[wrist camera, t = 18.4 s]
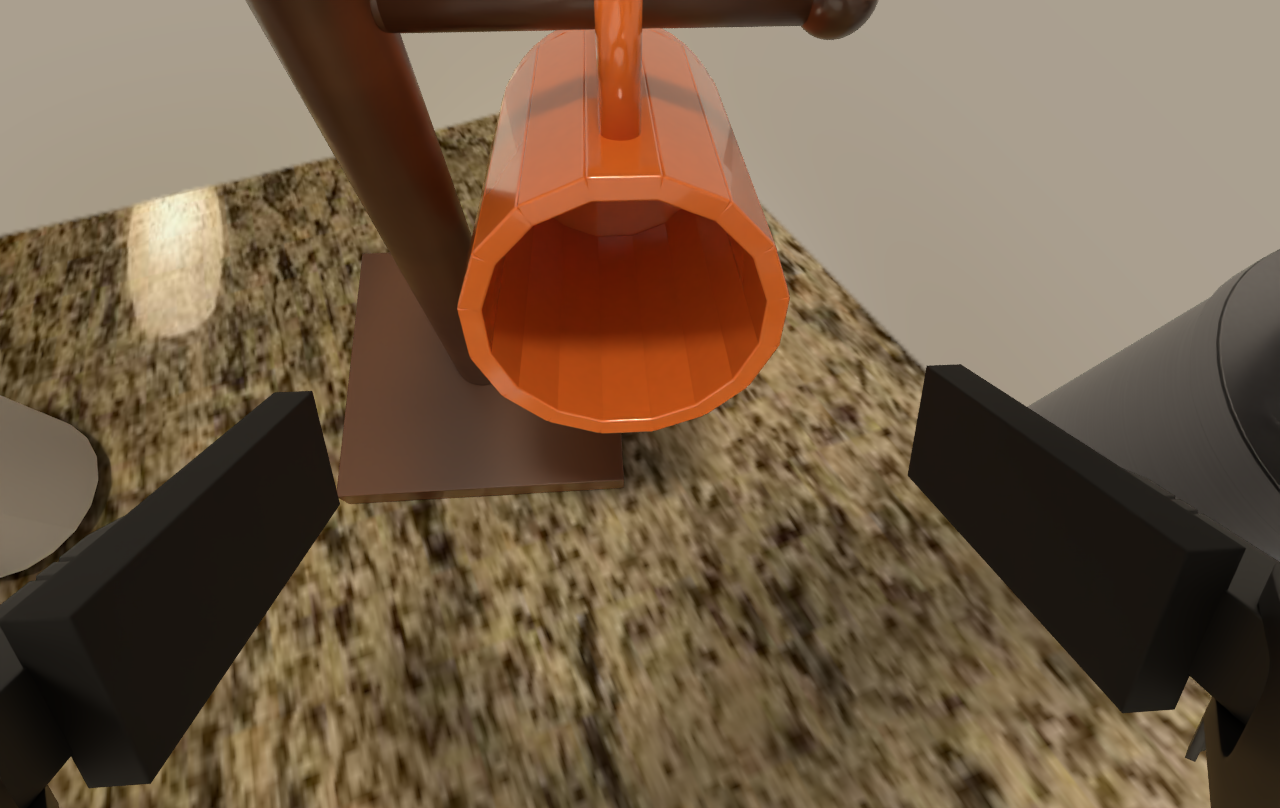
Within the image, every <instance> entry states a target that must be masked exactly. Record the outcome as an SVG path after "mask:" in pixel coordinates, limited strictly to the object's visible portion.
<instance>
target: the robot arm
mask: <svg viewBox="0 0 1280 808" xmlns="http://www.w3.org/2000/svg"><path fill="white" fill-rule="evenodd" d="M908 476H909V477H910V479H911V480H912V481H913V482H914V483H915V484H916V485H917V486H918V487H919V489H920V490H921V491H922V492H923V493H924V494H925V495H926V496H927V497H928V498H929V500H930V501H931V502H932V503H933V504H934V505H935V506H936V507H937V508H938V510H939V511H940V512H941V513H942V514H943V515H944V516H945V517H946V518H947V520H948V521H949V522H950V523H951V524H952V525H953V526H954V527H955V528H956V529H957V531H958V532H959V533H960V534H961V535H962V536H963V537H964V538H965V539H966V541H967V542H968V543H969V544H970V545H971V546H972V547H973V548H974V549H975V550H976V552H977V553H978V554H979V555H980V556H981V557H982V558H983V559H984V560H985V562H986V563H987V564H988V565H989V566H990V567H991V568H992V569H993V570H994V572H995V573H996V574H997V575H998V576H999V577H1000V578H1001V579H1002V580H1003V581H1004V583H1005V584H1006V585H1007V586H1008V587H1009V588H1010V589H1011V590H1012V591H1013V593H1014V594H1015V595H1016V596H1017V597H1018V598H1019V599H1020V600H1021V601H1022V603H1023V604H1024V605H1025V606H1026V607H1027V608H1028V609H1029V610H1030V611H1031V612H1032V614H1033V615H1034V616H1035V617H1036V618H1037V619H1038V620H1039V621H1040V622H1041V624H1042V625H1043V626H1044V627H1045V628H1046V629H1047V630H1048V631H1049V632H1050V633H1051V635H1052V636H1053V637H1054V638H1055V639H1056V640H1057V641H1058V642H1059V643H1060V645H1061V646H1062V647H1063V648H1064V649H1065V650H1066V651H1067V652H1068V653H1069V655H1070V656H1071V657H1072V658H1073V659H1074V660H1075V661H1076V662H1077V663H1078V664H1079V666H1080V667H1081V668H1082V669H1083V670H1084V671H1085V672H1086V673H1087V674H1088V676H1089V677H1090V678H1091V679H1092V680H1093V681H1094V682H1095V683H1096V684H1097V686H1098V687H1099V688H1100V689H1101V690H1102V691H1103V692H1104V693H1105V694H1106V695H1107V697H1108V698H1109V699H1110V700H1111V701H1112V702H1113V703H1114V704H1115V705H1116V707H1117V708H1118V709H1119V710H1120V711H1121V712H1122V713H1131V712H1145V711H1159V710H1173V709H1175V707H1176V705H1177V703H1178V700H1179V698H1180V696H1181V694H1182V691H1183V689H1184V687H1185V685H1186V682H1187V680H1188V678H1189V676H1191V677H1192V678H1193V679H1194V680H1195V681H1196V682H1197V683H1198V684H1200V685H1201V686H1202V687H1203V688H1204V689H1205V690H1206V691H1207V692H1208V693H1209V694H1210V695H1211V696H1212V698H1211V700H1210V703H1209V705H1208V707H1207V709H1206V711H1205V713H1204V715H1203V717H1202V719H1201V722H1200V724H1199V726H1198V728H1197V730H1196V732H1195V734H1194V736H1193V738H1192V741H1191V743H1190V745H1189V747H1188V750H1187V753H1186V756H1185V758H1187V759H1190V760H1192V761H1194V762H1195V761H1196V759H1197V757H1198V755H1199V753H1200V752H1201V751H1205V750H1206V755H1207V767H1208V779H1209V790H1210V802H1211V808H1280V562H1279V561H1277V560H1276V559H1274V558H1272V557H1271V556H1269V555H1268V554H1266V553H1264V552H1263V551H1261V550H1260V549H1258V548H1257V547H1255V546H1253V545H1252V544H1250V543H1249V542H1247V541H1245V540H1244V539H1242V538H1241V537H1239V536H1238V535H1236V534H1234V533H1233V532H1231V531H1230V530H1228V529H1227V528H1225V527H1223V526H1222V525H1220V524H1219V523H1217V522H1215V521H1214V520H1212V519H1211V518H1209V517H1208V516H1206V515H1204V514H1198V510H1196V509H1195V508H1193V507H1192V506H1190V505H1189V504H1187V503H1185V502H1184V501H1182V500H1181V499H1175V496H1174V495H1173V494H1171V493H1170V492H1168V491H1166V490H1165V489H1163V488H1162V487H1160V486H1159V485H1157V484H1155V483H1154V482H1152V481H1151V480H1149V479H1147V478H1145V477H1143V476H1140V475H1138V474H1135V473H1133V472H1130V471H1128V470H1126V469H1123V468H1121V467H1119V466H1118V465H1116V464H1115V463H1113V462H1112V461H1110V460H1108V459H1107V458H1105V457H1104V456H1102V455H1101V454H1099V453H1098V452H1096V451H1094V450H1093V449H1091V448H1090V447H1088V446H1087V445H1085V444H1084V443H1082V442H1080V441H1079V440H1077V439H1076V438H1074V437H1073V436H1071V435H1070V434H1068V433H1066V432H1065V431H1063V430H1062V429H1060V428H1059V427H1057V426H1056V425H1054V424H1053V423H1051V422H1049V421H1048V420H1046V419H1045V418H1043V417H1042V416H1040V415H1039V414H1037V413H1035V412H1034V411H1032V410H1031V409H1029V408H1028V407H1026V406H1024V405H1023V404H1021V403H1020V402H1018V401H1016V400H1015V399H1014V398H1012V397H1010V396H1009V395H1007V394H1006V393H1004V392H1003V391H1001V390H1000V389H998V388H996V387H995V386H993V385H992V384H990V383H989V382H987V381H986V380H984V379H983V378H981V377H979V376H978V375H976V374H975V373H973V372H972V371H970V370H969V369H967V368H965V367H964V366H962V365H961V364H959V365H935V366H927V368H926V373H925V379H924V385H923V391H922V396H921V402H920V408H919V413H918V419H917V425H916V431H915V436H914V442H913V448H912V453H911V459H910V465H909V471H908ZM339 505H340V502H339V498H338V494H337V490H336V486H335V482H334V478H333V474H332V470H331V466H330V462H329V457H328V453H327V449H326V445H325V441H324V437H323V433H322V429H321V425H320V421H319V417H318V413H317V408H316V404H315V400H314V396H313V392H312V391H301V392H276V393H273V394H272V395H271V396H270V397H268V398H267V399H266V400H265V401H264V402H262V403H261V404H260V405H259V406H257V407H256V408H255V409H254V410H253V411H251V412H250V413H249V414H248V415H247V416H245V417H244V418H243V419H242V420H240V421H239V422H238V423H237V424H236V425H234V426H233V427H232V428H231V429H230V430H228V431H227V432H226V433H225V434H224V435H222V436H221V437H220V438H219V439H217V440H216V441H215V442H214V443H213V444H211V445H210V446H209V447H208V448H207V449H205V450H204V451H203V452H202V453H201V454H199V455H198V456H197V457H196V458H194V459H193V460H192V461H191V462H190V463H188V464H187V465H186V466H185V467H184V468H182V469H181V470H180V471H179V472H178V473H176V474H175V475H174V476H173V477H171V478H170V479H169V480H168V481H167V482H165V483H164V484H163V485H162V486H161V487H159V488H158V489H157V490H156V491H154V492H153V493H152V494H151V495H150V496H148V497H147V498H146V499H145V500H144V501H142V502H141V503H140V504H139V505H138V506H136V507H135V508H134V509H133V510H131V511H130V512H129V513H128V514H127V515H125V516H123V517H121V518H119V519H117V520H115V521H114V522H112V523H110V524H108V525H106V526H104V527H102V528H100V529H98V530H97V531H95V532H93V533H91V534H89V535H87V536H86V537H84V538H83V539H82V540H81V541H79V542H78V543H77V544H76V545H74V546H73V547H72V548H71V549H69V550H68V551H67V552H66V553H64V554H63V555H62V556H61V557H60V558H59V562H53V563H52V564H51V565H50V566H48V567H47V568H46V569H45V570H43V571H42V572H41V573H40V574H38V575H37V576H36V580H35V581H30V582H28V583H27V584H26V585H25V586H23V587H22V588H21V589H20V590H18V591H17V592H16V593H15V594H13V595H12V596H11V597H10V598H8V599H7V600H6V601H5V602H3V603H2V604H1V605H0V808H59V804H58V802H57V800H56V798H55V797H54V795H53V793H52V792H51V790H50V788H49V786H48V785H47V784H48V783H49V782H50V781H51V779H52V778H53V777H54V776H55V775H56V773H57V772H58V771H59V770H60V769H61V767H62V766H63V765H64V764H65V763H66V761H67V760H68V759H69V758H70V757H72V759H73V760H74V762H75V764H76V766H77V768H78V769H79V771H80V773H81V775H82V777H83V779H84V780H85V782H86V784H87V786H88V788H97V787H111V786H125V785H138V784H151V782H152V781H153V779H154V778H155V776H156V775H157V773H158V772H159V771H160V769H161V768H162V766H163V765H164V763H165V762H166V760H167V759H168V757H169V756H170V754H171V753H172V751H173V750H174V748H175V747H176V745H177V744H178V742H179V741H180V740H181V738H182V737H183V735H184V734H185V732H186V731H187V729H188V728H189V726H190V725H191V723H192V722H193V720H194V719H195V717H196V716H197V714H198V713H199V711H200V710H201V708H202V707H203V706H204V704H205V703H206V701H207V700H208V698H209V697H210V695H211V694H212V692H213V691H214V689H215V688H216V686H217V685H218V683H219V682H220V680H221V679H222V677H223V676H224V675H225V673H226V672H227V670H228V669H229V667H230V666H231V664H232V663H233V661H234V660H235V658H236V657H237V655H238V654H239V652H240V651H241V649H242V648H243V646H244V645H245V644H246V642H247V641H248V639H249V638H250V636H251V635H252V633H253V632H254V630H255V629H256V627H257V626H258V624H259V623H260V621H261V620H262V618H263V617H264V615H265V614H266V612H267V611H268V610H269V608H270V607H271V605H272V604H273V602H274V601H275V599H276V598H277V596H278V595H279V593H280V592H281V590H282V589H283V587H284V586H285V584H286V583H287V581H288V580H289V579H290V577H291V576H292V574H293V573H294V571H295V570H296V568H297V567H298V565H299V564H300V562H301V561H302V559H303V558H304V556H305V555H306V553H307V552H308V550H309V549H310V548H311V546H312V545H313V543H314V542H315V540H316V539H317V537H318V536H319V534H320V533H321V531H322V530H323V528H324V527H325V525H326V524H327V522H328V521H329V519H330V518H331V517H332V515H333V514H334V512H335V511H336V509H337V508H338V506H339Z"/></svg>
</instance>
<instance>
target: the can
mask: <svg viewBox="0 0 1280 808" xmlns="http://www.w3.org/2000/svg"><path fill="white" fill-rule="evenodd" d="M97 483H98V467H97V456H96V454H95V452H94V450H93V448H92V446H91V444H90V442H89V440H88V439H87V437H86V436H84V435H83V434H82V433H81V432H79V431H78V430H77V429H75V428H74V427H73V426H72V425H70V424H68V423H66V422H63V421H61V420H58V419H56V418H54V417H51V416H49V415H46V414H44V413H42V412H39V411H37V410H34V409H32V408H29V407H27V406H25V405H22V404H20V403H17V402H15V401H13V400H10V399H8V398H5V397H3V396H0V578H1V577H4V576H7V575H10V574H13V573H16V572H19V571H22V570H25V569H27V568H29V567H31V566H32V565H34V564H36V563H37V562H39V561H40V560H42V559H44V558H45V557H47V556H48V555H50V554H52V553H53V552H54V551H55V550H56V549H57V548H59V547H60V546H61V545H62V544H63V543H64V542H65V541H66V540H67V539H68V538H69V537H70V536H71V535H72V534H73V533H74V532H75V531H76V529H77V528H78V526H79V524H80V523H81V521H82V520H83V518H84V516H85V515H86V513H87V511H88V510H89V508H90V507H91V505H92V501H93V497H94V494H95V490H96V487H97Z"/></svg>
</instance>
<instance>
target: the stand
mask: <svg viewBox="0 0 1280 808" xmlns="http://www.w3.org/2000/svg"><path fill="white" fill-rule="evenodd" d="M246 2H247V4H248V5H249V7H250V9H251V11H252V12H253V14H254V16H255V18H256V19H257V21H258V23H259V25H260V26H261V28H262V30H263V32H264V33H265V35H266V37H267V39H268V40H269V42H270V44H271V46H272V47H273V49H274V51H275V53H276V54H277V56H278V58H279V60H280V61H281V63H282V65H283V67H284V68H285V70H286V72H287V74H288V75H289V77H290V79H291V81H292V82H293V84H294V85H295V87H296V89H297V91H298V93H299V94H300V96H301V98H302V100H303V101H304V103H305V105H306V107H307V108H308V110H309V112H310V114H311V115H312V117H313V119H314V121H315V122H316V124H317V126H318V128H319V129H320V131H321V133H322V135H323V136H324V138H325V140H326V142H327V143H328V145H329V147H330V149H331V150H332V152H333V154H334V156H335V157H336V159H337V161H338V163H339V164H340V166H341V168H342V170H343V171H344V173H345V175H346V177H347V178H348V180H349V182H350V184H351V185H352V187H353V189H354V191H355V192H356V194H357V196H358V198H359V199H360V201H361V203H362V205H363V206H364V208H365V210H366V212H367V213H368V215H369V217H370V218H371V220H372V222H373V224H374V225H375V227H376V229H377V231H378V232H379V234H380V236H381V238H382V239H383V241H384V243H385V245H386V246H387V248H388V250H389V252H390V253H367V254H363V255H362V264H361V273H360V282H359V292H358V301H357V310H356V319H355V328H354V337H353V347H352V356H351V365H350V374H349V383H348V392H347V402H346V411H345V420H344V429H343V438H342V447H341V457H340V466H339V475H338V484H337V494H338V498H340V499H342V500H343V501H345V502H347V503H349V504H354V503H371V502H388V501H406V500H423V499H440V498H457V497H474V496H492V495H509V494H526V493H543V492H560V491H577V490H595V489H612V488H623V487H624V471H623V454H622V438H621V433H601V432H600V433H596V432H592V431H587V430H583V429H578V428H574V427H569V426H565V425H560V424H556V423H551V422H549V421H545V420H544V419H542V418H540V417H538V416H537V415H535V414H533V413H531V412H529V411H528V410H526V409H524V408H522V407H521V406H519V405H517V404H515V403H513V402H512V401H510V400H508V399H506V398H505V397H504V396H502V395H501V394H500V393H499V392H498V391H497V389H496V388H495V387H494V386H493V385H492V383H491V382H490V381H489V380H488V379H487V378H486V376H485V375H484V374H483V373H482V372H481V370H480V369H479V368H478V367H477V366H476V365H475V363H474V362H473V361H472V360H471V358H470V356H469V353H468V349H467V345H466V342H465V338H464V334H463V330H462V326H461V322H460V318H459V314H458V310H457V307H458V305H457V304H458V300H459V295H460V290H461V286H462V281H463V276H464V272H465V267H466V263H467V258H468V253H469V249H470V244H471V239H472V236H471V233H470V230H469V227H468V224H467V222H466V219H465V216H464V213H463V210H462V207H461V205H460V202H459V199H458V196H457V193H456V190H455V188H454V185H453V182H452V179H451V176H450V173H449V171H448V168H447V165H446V162H445V159H444V156H443V154H442V151H441V148H440V145H439V142H438V139H437V137H436V134H435V131H434V128H433V125H432V122H431V120H430V117H429V114H428V111H427V108H426V105H425V103H424V100H423V97H422V94H421V91H420V88H419V86H418V83H417V80H416V77H415V75H414V72H413V69H412V66H411V63H410V61H409V57H408V55H407V52H406V49H405V46H404V43H403V40H402V37H401V35H400V33H438V32H487V31H488V32H490V31H543V30H595V18H594V0H246ZM877 3H878V0H643V16H642V29H651V28H705V27H755V26H756V27H758V26H801V27H802V28H803V29H804V30H805V31H806V32H808V33H809V34H810V35H812V36H814V37H817V38H820V39H825V40H834V39H839V38H843V37H845V36H847V35H850V34H852V33H853V32H855V31H856V30H858V29H859V28H860V27H861V26H862V25H863V24H864V23H865V22H866V21H867V20H868V18H869V17H870V16H871V14H872V13H873V11H874V10H875V7H876V5H877Z"/></svg>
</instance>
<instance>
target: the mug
mask: <svg viewBox="0 0 1280 808" xmlns="http://www.w3.org/2000/svg"><path fill="white" fill-rule="evenodd" d="M642 16H643V0H594V18H595V30H556V31H554V32H552V33H551V34H549V35H547V36H546V37H545V38H543V39H542V40H541V41H540V42H538V43H537V44H536V45H535V46H534V47H533V48H532V49H531V50H530V51H529V52H528V53H527V54H526V55H525V56H524V57H523V59H522V60H521V62H520V63H519V65H518V66H517V67H516V69H515V71H514V72H513V74H512V76H511V78H510V81H509V82H508V84H507V87H506V89H505V93H504V96H503V99H502V104H501V109H500V112H499V116H498V120H497V124H496V128H495V133H494V137H493V142H492V147H491V151H490V156H489V160H488V165H487V170H486V174H485V179H484V184H483V188H482V193H481V198H480V202H479V207H478V211H477V216H476V221H475V225H474V230H473V235H472V239H471V244H470V249H469V253H468V258H467V263H466V267H465V272H464V276H463V281H462V286H461V290H460V295H459V300H458V304H457V305H458V307H457V310H458V314H459V318H460V322H461V326H462V330H463V334H464V338H465V342H466V345H467V349H468V353H469V356H470V358H471V360H472V361H473V362H474V363H475V365H476V366H477V367H478V368H479V369H480V370H481V372H482V373H483V374H484V375H485V376H486V378H487V379H488V380H489V381H490V382H491V383H492V385H493V386H494V387H495V388H496V389H497V391H498V392H499V393H500V394H501V395H502V396H504V397H505V398H506V399H508V400H510V401H512V402H513V403H515V404H517V405H519V406H521V407H522V408H524V409H526V410H528V411H529V412H531V413H533V414H535V415H537V416H538V417H540V418H542V419H544V420H545V421H549V422H551V423H556V424H560V425H565V426H569V427H574V428H578V429H583V430H587V431H592V432H596V433H600V432H601V433H625V432H649V431H653V430H659V429H662V428H666V427H669V426H672V425H675V424H678V423H682V422H685V421H688V420H691V419H695V418H698V417H701V416H703V415H704V414H708V413H709V412H711V411H712V410H714V409H715V408H717V407H718V406H720V405H721V404H723V403H724V402H726V401H727V400H729V399H730V398H732V397H733V396H735V395H736V394H738V393H739V392H741V391H742V390H744V389H745V388H747V386H749V385H750V384H751V382H752V381H753V380H754V378H755V377H756V376H757V374H758V373H759V372H760V370H761V369H762V368H763V366H764V365H765V364H766V362H767V361H768V360H769V359H770V357H771V356H772V355H773V353H774V352H775V351H776V349H777V348H778V346H779V344H780V340H781V335H782V331H783V326H784V322H785V318H786V313H787V309H788V304H789V300H790V297H789V291H788V287H787V284H786V280H785V277H784V273H783V269H782V266H781V262H780V259H779V255H778V252H777V248H776V245H775V243H774V240H773V237H772V235H771V232H770V229H769V227H768V224H767V221H766V219H765V216H764V213H763V211H762V208H761V205H760V203H759V200H758V197H757V195H756V192H755V189H754V186H753V184H752V181H751V178H750V176H749V173H748V171H747V168H746V165H745V162H744V160H743V157H742V154H741V152H740V149H739V146H738V144H737V141H736V138H735V136H734V133H733V130H732V128H731V125H730V122H729V120H728V117H727V114H726V111H725V109H724V106H723V103H722V101H721V98H720V95H719V93H718V90H717V87H716V85H715V83H714V81H713V79H712V78H711V77H710V75H709V74H708V72H707V70H706V68H705V67H704V65H703V64H702V63H701V61H700V60H699V59H698V57H697V56H696V55H695V54H694V53H693V52H692V51H691V50H690V49H689V48H688V47H687V46H686V45H685V44H684V43H683V42H682V41H680V40H679V39H678V38H676V37H675V36H673V35H672V34H671V33H669V32H667V31H665V30H663V29H662V28H651V29H642Z"/></svg>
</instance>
